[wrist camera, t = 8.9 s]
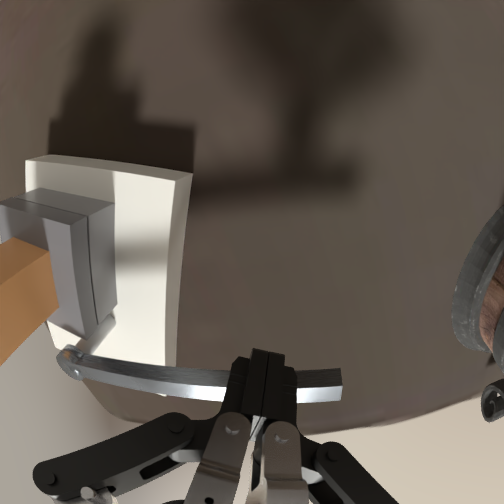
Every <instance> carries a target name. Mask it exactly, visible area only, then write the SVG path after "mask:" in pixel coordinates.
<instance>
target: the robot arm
mask: <svg viewBox="0 0 504 504" xmlns="http://www.w3.org/2000/svg"><path fill="white" fill-rule="evenodd" d="M284 362H285V355H284V354H279V353H274V352H268V351H264V350H260V349H255V348H253V349H252V352H251V355H250V358H249V359H248V358H244V357H240V356H239V357H238V358H237V359H236V360H235V361H234V362H233V363H232V367H231V371H230V375H229V379H228V383H227V387H226V391H225V395H224V398H223V402H222V406H221V409H220V411H219V413H218V414H217V415H216V416H214V417H213V418H210V419H207V420H191V419H189V418H188V417H187V416H186V415H184V414H181V413H177V412H171V413H167V414H165V415H162V416H160V417H158V418H156V419H154V420H152V421H150V422H147V423H145V424H143V425H141V426H139V427H136V428H134V429H132V430H129V431H127V432H125V433H122V434H120V435H118V436H115V437H113V438H110V439H108V440H105V441H103V442H100V443H97V444H95V445H92V446H89V447H87V448H84V449H81V450H78V451H75V452H72V453H70V454H66V455H63V456H60V457H57V458H53V459H50V460H47V461H43V462H40V463H38V464H37V465H36V466H35V468H34V470H33V480H34V483H35V484H36V486H37V487H38V488H39V489H40V490H41V491H42V492H44V493H45V494H47V495H48V496H50V497H51V498H52V499H53V501H54V503H55V504H118V501H117V499H116V496H119V495H121V494H124V493H126V492H128V491H131V490H133V489H135V488H138V487H140V486H142V485H144V484H146V483H148V482H150V481H153V480H155V479H157V478H158V477H161V476H163V475H165V474H167V473H168V472H170V471H172V470H174V469H176V468H178V467H180V466H182V465H183V464H185V463H187V462H200V464H199V466H198V468H197V470H196V473H195V475H194V478H193V481H192V483H191V485H190V488H189V491H188V493H187V496H186V498H185V500H174V501H169V502H166V503H163V504H233V500H234V497H235V494H236V490H237V487H238V483H239V479H240V471H241V467H242V463H243V460H244V456H245V452H246V449H247V445H248V441H254V442H255V446H254V451H253V452H252V455H251V463H250V464H251V465H250V478H249V491H248V495H247V499H246V503H245V504H309V499H310V501H311V502H312V503H313V504H399V503H397V501H396V500H395V499H394V498H392V497H391V495H390V494H389V493H388V492H387V491H386V490H385V489H384V488H383V487H382V486H381V485H380V484H379V483H378V482H377V481H376V480H375V479H374V478H373V477H372V476H371V475H370V474H369V473H368V472H367V471H366V470H365V469H364V468H363V467H362V465H361V464H360V463H359V462H358V461H357V460H356V459H355V458H354V457H353V456H352V455H351V454H350V453H349V451H348V450H347V449H346V448H345V447H344V446H343V445H341V444H339V443H337V442H326V443H323V444H319V443H317V442H314V441H312V440H309V439H307V438H306V437H304V436H303V435H302V434H301V433H300V432H299V430H298V428H297V425H296V414H297V375H296V373H295V371H294V368H292V367H287V366H284ZM249 439H250V440H249Z"/></svg>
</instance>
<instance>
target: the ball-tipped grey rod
mask: <svg viewBox="0 0 504 504" xmlns="http://www.w3.org/2000/svg"><path fill="white" fill-rule="evenodd" d="M56 359H57V362H58V364H59V366H60V367H61V368H62V369H63V371H65V372H66V374H68V375H69V376H70V377H72V378H74V379H76V380H79V381H80V380H82V379H83V378H84V377H85V378H88V379H92V380H96V381H100V382H104V383H108V384H112V385H117V386H121V387H126V388H131V389H136V390H141V391H146V392H152V393H158V394H164V395H171V396H178V397H186V398H194V399H204V400H215V401H223V398H224V395H225V391H226V387H227V383H228V379H229V375H230V371H227V370H207V369H193V368H181V367H171V366H162V365H153V364H145V363H138V362H131V361H125V360H118V359H112V358H107V357H101V356H96V355H91V354H86V353H83V352H82V351H81V350H80V349H79V348H77V347H76V346H74V345H71V344H67V345H66V346H65V347H64V348H63V349H62V350H61V352H60V353H59V354H58V355H57V357H56ZM295 373H296V375H297V403H305V402H324V401H338V400H341V393H342V386H343V385H342V377H341V369H340V368H335V369H321V370H302V371H295Z"/></svg>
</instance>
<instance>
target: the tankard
mask: <svg viewBox="0 0 504 504" xmlns="http://www.w3.org/2000/svg"><path fill="white" fill-rule="evenodd" d="M452 326H453V329H454V333H455V336H456V337H457V339H458V340H459V342H460V343H461V344H462V345H464V346H465V347H467V348H469V349H473V350H481V351H484V352H488V353H489V352H492V353H493V357H494V359H495V362H496V363H497V365H498V366H499V368H500V369H501V371H502V372H503V374H504V205H503V206H502V207H501V208H500V209H499V210H497V211H496V213H495V214H494V215H493V216H492V217H491V219H490V220H489V221H488V222H487V223H486V225H485V226H484V228H483V229H482V231H481V232H480V234H479V235H478V237H477V239H476V240H475V242H474V244H473V246H472V248H471V250H470V252H469V254H468V256H467V257H466V259H465V262H464V265H463V267H462V270H461V272H460V275H459V277H458V281H457V285H456V288H455V292H454V296H453V304H452ZM497 393H499V394H500V395H501V396H499V397H497ZM481 411H482V414H483V417H484V419H485V420H486V421H487V422H492V421H495V420H497V419H499V418H501V417H503V416H504V379H501V380H498V381H496V382H494V383H491V384H489V385H488V386H487V387H486V388H485V390H484V391H483V394H482V397H481Z"/></svg>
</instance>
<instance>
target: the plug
mask: <svg viewBox="0 0 504 504" xmlns="http://www.w3.org/2000/svg"><path fill="white" fill-rule="evenodd" d="M0 235H1V241H2V244H0V366H1V365H2V364H3V363H4V362H5V361H6V360H7V358H8V357H9V356H10V355H11V354H12V353H13V352H14V351H15V350H16V349H17V348H18V347H19V346H20V345H21V344H22V343H23V342H24V341H25V340H26V339H27V338H28V337H29V336H30V335H31V334H32V333H33V332H34V331H35V330H36V329H37V328H38V327H39V326H40V325H41V324H42V323H43V322H44V321H45V320H47V321H49V322H51V323H53V324H54V325H56V326H58V327H60V328H62V329H64V330H66V331H68V332H70V333H72V334H74V335H76V336H78V337H80V338H82V339H84V340H86V341H87V340H88V339H89V337H90V336H91V335H92V334H93V333H94V332H95V330H96V329H97V328H98V326H97V320H96V314H95V307H94V300H93V293H92V285H91V276H90V265H89V252H88V234H87V216H83V215H79V214H75V213H71V212H67V211H63V210H59V209H56V208H52V207H48V206H44V205H40V204H36V203H32V202H28V201H24V200H20V199H17V198H13V197H11V198H8V199H6V200H4V201H1V202H0Z"/></svg>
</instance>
